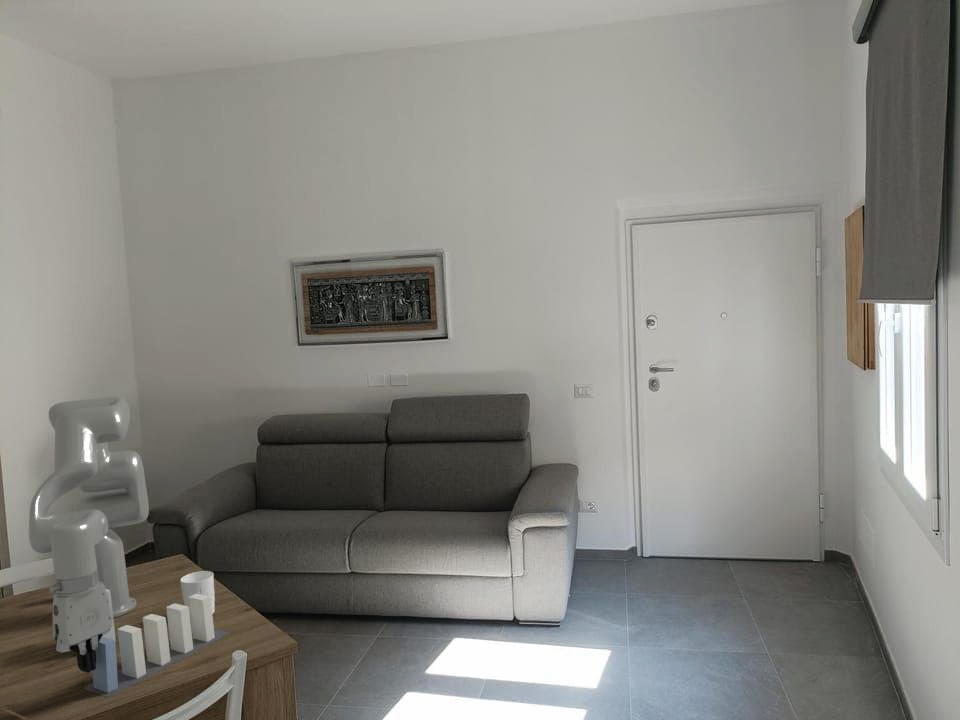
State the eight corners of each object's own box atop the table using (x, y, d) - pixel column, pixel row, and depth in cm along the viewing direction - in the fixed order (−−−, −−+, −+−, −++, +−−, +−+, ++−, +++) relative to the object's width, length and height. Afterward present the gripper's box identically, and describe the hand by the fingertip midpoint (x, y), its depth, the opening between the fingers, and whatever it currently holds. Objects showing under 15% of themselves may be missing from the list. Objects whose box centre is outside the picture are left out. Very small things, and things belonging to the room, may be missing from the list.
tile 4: (185, 653, 169) (180, 610, 168) (170, 649, 171) (166, 607, 170) (193, 649, 170) (188, 606, 170) (179, 645, 173) (174, 603, 172)
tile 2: (136, 678, 158) (131, 633, 158) (122, 673, 161) (117, 629, 160) (146, 673, 160) (141, 628, 159) (131, 669, 163) (126, 624, 162)
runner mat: (82, 689, 156) (82, 688, 156) (205, 628, 182) (205, 626, 182) (108, 699, 151) (108, 697, 151) (230, 634, 178) (230, 632, 178)
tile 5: (207, 641, 174) (202, 600, 173) (192, 638, 176) (188, 597, 175) (214, 637, 176) (210, 596, 175) (200, 634, 178) (196, 593, 177)
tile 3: (161, 665, 164) (156, 621, 163) (147, 661, 166) (142, 617, 165) (170, 661, 165) (165, 617, 165) (156, 656, 168) (151, 613, 167)
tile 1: (107, 692, 153) (105, 644, 153) (93, 687, 156) (91, 640, 155) (117, 688, 155) (115, 640, 155) (103, 683, 157) (101, 636, 157)
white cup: (206, 621, 186) (202, 582, 185) (178, 621, 188) (173, 582, 187) (223, 608, 194) (219, 571, 193) (195, 608, 195) (191, 570, 195)
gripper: (50, 599, 142) (61, 691, 144) (123, 571, 155) (132, 656, 156) (29, 593, 146) (40, 683, 148) (101, 566, 159) (111, 650, 160)
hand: (88, 669), depth 152 cm, fingers closed
